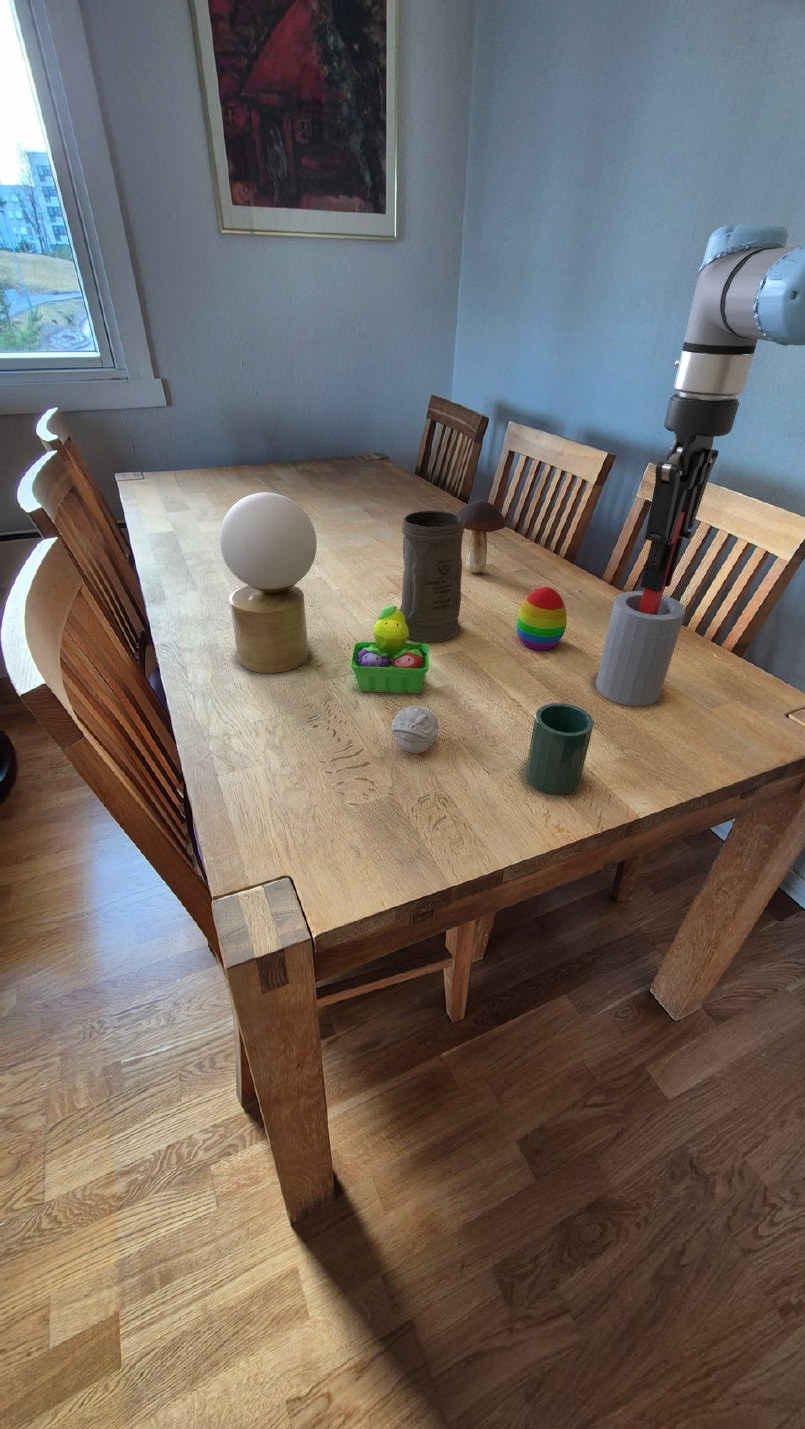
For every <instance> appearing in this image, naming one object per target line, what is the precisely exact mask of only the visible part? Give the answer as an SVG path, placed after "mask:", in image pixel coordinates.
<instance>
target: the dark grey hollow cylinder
mask: <svg viewBox="0 0 805 1429" xmlns="http://www.w3.org/2000/svg"><path fill="white" fill-rule="evenodd" d="M464 532H465V528H464V527H463V520H462V518H461V517H460V516H458V515H456V513H453V512H448V511H442V510H420V511H414V512H411V513H408V514H407V513H406V515H405V516H404V517H403V519H402V526H401V533H402V534H403V539H402V557H403V566H404V567H403V568H404V570H403V573H402V577H403V578H402V593H401V596H402V597H401V604H400V607H399V610H400V611H401V612H402V613H403V614H404V617H405V623H406V625H407V627H408V631H409V636H408V638H407V639H410V640H413V641H416V642H420V643H421V642H422V643H439V642H440V643H441V642H443V641H447V640H450V639H452V638H453V637H455V636H456V635H457V634H458V633H459V630H460V625H459V624H460V623H459V617H460V609H461V601H462V592H461V591H462V577H463V576H462V575H463V559H462V558H463V557H462V549H463V548H462V547H463V546H462V545H463V537H464Z"/></svg>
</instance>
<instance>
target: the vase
mask: <svg viewBox="0 0 805 1429" xmlns="http://www.w3.org/2000/svg"><path fill="white" fill-rule="evenodd" d="M643 591H644V590H643ZM643 591H642V590H633V591H625V592H622V593H620V594H618V595H616V596H615V599H614V601H613V606H612V609H611V614H610V618H609V622H608V628H607V632H606V636H605V640H604V645H603V649H602V653H601V657H600V662H599V667H598V671H597V675H596V679H595V688H596V690H597V691H598V693H600V695H602V696H603V697H604V698H606V699H607V700H609V701H611V702H614V703H616V704H620V705H623V706H628V707H629V706H630V707H646V706H650V705H653V704H655V703H656V702H657V701H658V700H659V699H660V696H661V694H662V691H663V688H664V684H665V680H666V678H667V674H668V672H669V668H670V664H671V661H672V657H673V654H674V651H675V648H676V644H677V641H678V638H679V634H680V632H681V628H682V625H683V621H684V618H685V615H686V610H687V609H686V607H685V606H684V604H683V603H681V602H680V601H679V600H677V599H675V598H673V597H671V596H668V595H665V594H662V598H661V602H660V605H659V609H658V613H657V615H650V614H645V613H641V612H638V611H639V607H640V603H641V599H642V595H643Z"/></svg>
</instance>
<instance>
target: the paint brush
mask: <svg viewBox="0 0 805 1429" xmlns="http://www.w3.org/2000/svg"><path fill="white" fill-rule="evenodd" d="M684 514H685V512H681V513H680V516H679V520H678V523H677V526H676V529H675V533H674V536H673V539H672V542H671V543H673V544H674V547H673V551H672V554H671V558H670V562H669V565H668V569H667V573H666V577H665V580H664V584H663V588H662V591H661V592H656V591H653V590H649V589H646V588H643V595H642V599H641V603H640V607H639V611H638V612H641V613H645V614H650V615H657V613H658V609H659V605H660V602H661V598H662V595H664V591H665V587H666V586H665V583H666V580H667V576H668V572H669V569H670V565H671V561H672V558H673V554H674V550H675V547H676V543H677V539H678V536H679V532H680V528H681V525H682V521H683V518H684Z"/></svg>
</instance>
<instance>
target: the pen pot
mask: <svg viewBox="0 0 805 1429" xmlns="http://www.w3.org/2000/svg"><path fill="white" fill-rule="evenodd" d="M594 724H595V722H594V720H593V717H592V715H591V714H589V712H587V711H586V710H585V709H583V708H580V707H578V706H576V705H573V704H568V703H565V702H552V703H548V704H544V705H542V706H541V707H539V708H538V709H537V710H536V712H535V716H534V721H533V727H532V732H531V737H530V738H531V739H530V744H529V750H528V756H527V762H526V767H525V779H526V780H527V783H529V785H530V786H531V787H532V788H534V789H535V790H537V791H539V792H540V793H543V794H546V795H549V796H564V795H568V794H572V793H573V792H575V791H577V789H578V788H579V786H580V783H581V778H582V776H583V775H582V774H583V770H584V766H585V762H586V757H587V753H588V749H589V745H590V741H591V737H592V732H593V729H594Z"/></svg>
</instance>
